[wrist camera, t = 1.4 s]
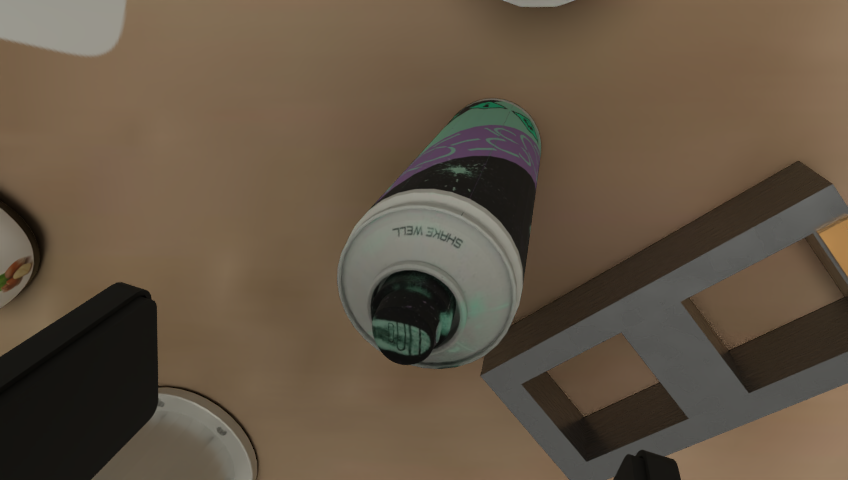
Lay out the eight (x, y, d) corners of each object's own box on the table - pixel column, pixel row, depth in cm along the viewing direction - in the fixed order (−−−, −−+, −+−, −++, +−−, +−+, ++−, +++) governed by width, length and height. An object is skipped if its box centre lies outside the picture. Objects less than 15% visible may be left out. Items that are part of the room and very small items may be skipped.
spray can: (558, 165, 31) (554, 388, 13) (474, 208, 33) (373, 449, 16) (512, 78, 30) (438, 195, 12) (427, 128, 32) (258, 290, 14)
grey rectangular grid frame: (577, 444, 38) (579, 494, 35) (488, 338, 37) (479, 378, 33) (894, 305, 30) (942, 350, 26) (798, 160, 29) (835, 186, 25)
